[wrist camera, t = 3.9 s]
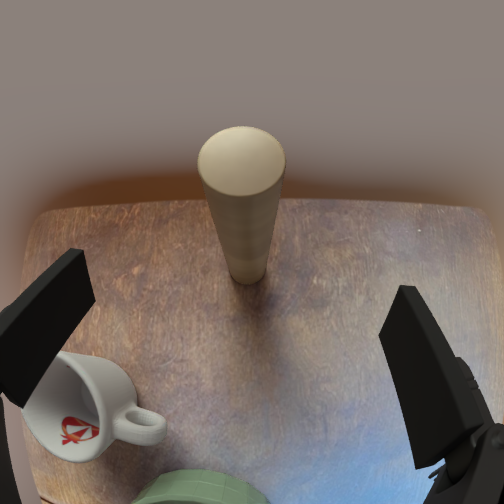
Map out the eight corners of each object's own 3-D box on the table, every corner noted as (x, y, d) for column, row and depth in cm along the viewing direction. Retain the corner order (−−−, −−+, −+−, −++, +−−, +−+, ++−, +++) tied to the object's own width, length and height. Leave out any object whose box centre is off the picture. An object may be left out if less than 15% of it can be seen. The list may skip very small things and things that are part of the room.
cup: (188, 372, 21) (157, 388, 13) (175, 456, 19) (145, 499, 11) (78, 338, 22) (20, 333, 14) (70, 415, 19) (16, 432, 12)
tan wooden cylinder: (223, 258, 24) (185, 144, 10) (255, 243, 24) (261, 116, 10) (238, 290, 23) (217, 211, 9) (271, 275, 23) (302, 176, 9)
